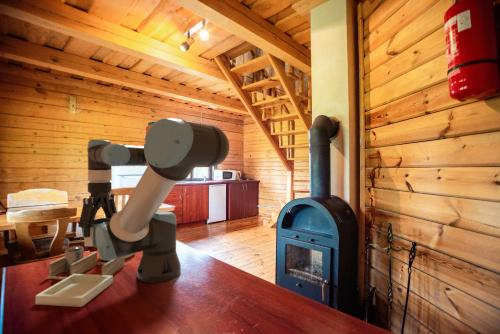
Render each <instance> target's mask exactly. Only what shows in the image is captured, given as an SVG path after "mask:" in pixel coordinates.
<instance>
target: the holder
mask: <svg viewBox="0 0 500 334" xmlns="http://www.w3.org/2000/svg"><path fill="white" fill-rule="evenodd" d="M125 261H126V258H125V256H124V257H120V258H117V259H113V260H111V261H107V262H102V261H101V262H100V261H98V251H94V252H92V253H90V254H88V255H86V256H84V257H83V258H82V259H80V260H78V261H76V262H74V263H72V264H70V274H69V276H71V275H73V274H84V273H85V272H87V271H89V270H90V269H92V268H94V267H95V266H97V265H101V275H111V276H114V275H115V273H117V272H119V271H120V270H121V269H122V268H123V267H125V266H127V264H126V262H125ZM63 272H65V255H64V256H63V257H60V258H58V259H56V260H53V261H51V262H49V263H48V276H46V279H48V280H64V279H66V278H67V277H68V276H61V275H60V276H58V275H59V274H61V273H63Z"/></svg>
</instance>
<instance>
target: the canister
mask: <svg viewBox="0 0 500 334" xmlns="http://www.w3.org/2000/svg"><path fill="white" fill-rule="evenodd" d="M84 251H85V250H84V247H83V246H81V245H75V246H70V247H68V248H67V249H65V251H64V254H65V255H64V256H65V271H64V273H65V274H67V275H70V264H72V263H74V262H76V261H78V260H80V259H82V258H84V257H85V256H84V255H85V254H84Z"/></svg>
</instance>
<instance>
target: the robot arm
mask: <svg viewBox="0 0 500 334" xmlns="http://www.w3.org/2000/svg"><path fill="white" fill-rule="evenodd" d="M144 141H145V143H144V144H143V145H142V146H141V145H127V144H121V143H115V142H114V143H112V142H111V141H110V140H106V139H90V140H88V143H87V149H86V150H87V181H88V183H87V192H88V193H90V195H89V197H84V198H83V199H82V209H81V214H80V217H79V222H78V227H79V228H80V229H82V228H84V238H83V240H84V247H94V246H93V227H91V226H92V224H93V221H94V220H95V218H96V216H97V214H98V211H99V210H100V209H102V211H103V213H104V216H105V218H108V219H111V220H110V221H109V222H107V223H105V222H103V223H101V224H99V225H98V226H97V227H96V232H95V236H96V244H97V247H96V248H97V253H98V255H99V254H100V256H101V257H102V258H103V259H104V260H103V261H105V260H106V261H107V262H109V261H108V260H113V259H117V258H120V257H124V256H127V255H131V254H133V255H134V254H137V253H141V252H142V255H141V258H140V261H139V264H138V267H137V271H136V278H137V280H138V281H141V282H143V283H150V284H151V283H152V284H155V283H156V284H157V283H162V282H167V281H171V280H172V279H174V278H176V277H178V276H179V275H180V274H181V271H182V270H181V267H182V265H181V262H180V258H179V256H178V253H177V225H178V223H177V215H176V214H175V213H174V212H172V211H166V210H159V209H160V207H161V206H162V205H163V203H164V201H165V200H166V199H167V197H168V196H169V195H170V193H171V191H173V188H174V187H175V186H176V184H177V183H178V182H183V181H185V180H186V179H187V178H188V177H189V176H190V174H191V173H192V171H193V170H194V169H195V168H213V167H216V166H219V165H221V164H222V163H223V162H224V161H225V160H226V158H228V155H229V153H230V140H229V138H228V136H227V134H225V132H224V131H223V130H222V129H220V128H219V127H216V126H215V125H211V124H205V123H198V122H194V121H188V120H184V119H182V118H168V117H164V118H161V119H158V120H156V121H155V122H153V123H152V124H151V126H150V127H149V128H148V130H147V131H146V134H145V137H144ZM131 166H132V167H137V166H139V167H146V168H145V170H144V171H143V174H142V175H141V177H140V179H139V181H138V183H137V184H136V186H135V187H134V189H133V191H132V193H131V194H130V196H129V198H128V199H127V201H126V203H125V204H124V206H123V208H122V209H121V210H118V211H117V207H116V201H115V194H114V193H111V192H112V182H111V181H112V180H113V179H112V176H113V175H112V174H113V173H112V167H131ZM113 213H114V214H113ZM88 223H89V224H88Z"/></svg>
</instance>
